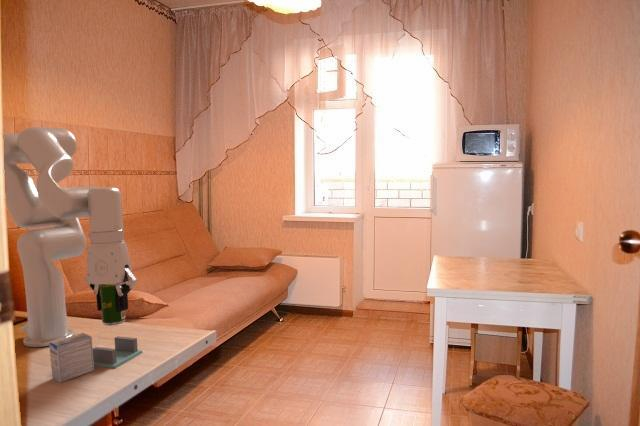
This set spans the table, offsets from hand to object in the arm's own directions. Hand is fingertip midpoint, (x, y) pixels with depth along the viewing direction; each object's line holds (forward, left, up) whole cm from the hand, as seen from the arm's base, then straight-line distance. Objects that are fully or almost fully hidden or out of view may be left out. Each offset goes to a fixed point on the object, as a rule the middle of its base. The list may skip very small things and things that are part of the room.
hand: (113, 309), depth 121 cm
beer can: (0, 0, -4) cm, 4 cm away
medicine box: (-3, -10, -13) cm, 17 cm away
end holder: (0, 0, -13) cm, 13 cm away
